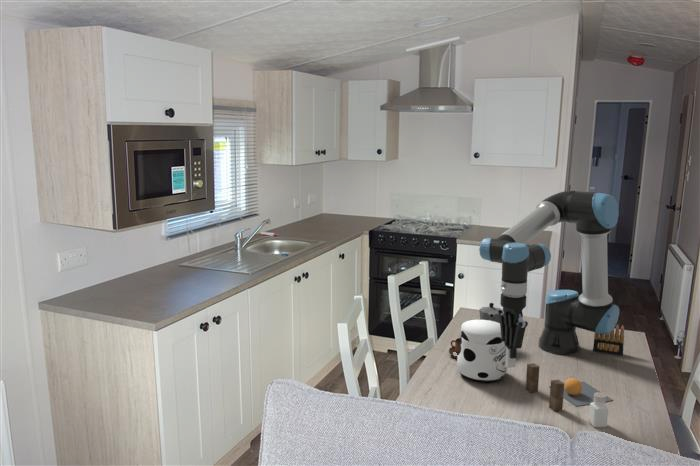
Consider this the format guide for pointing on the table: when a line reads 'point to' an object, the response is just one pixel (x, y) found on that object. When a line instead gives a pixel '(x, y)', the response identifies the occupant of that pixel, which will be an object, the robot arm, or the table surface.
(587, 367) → the table surface
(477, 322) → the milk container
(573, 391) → the ball
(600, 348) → the ammunition clip
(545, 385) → the table surface
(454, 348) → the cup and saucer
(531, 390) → the post
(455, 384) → the table surface
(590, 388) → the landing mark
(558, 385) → the post
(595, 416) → the pepper shaker
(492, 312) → the coffeepot
